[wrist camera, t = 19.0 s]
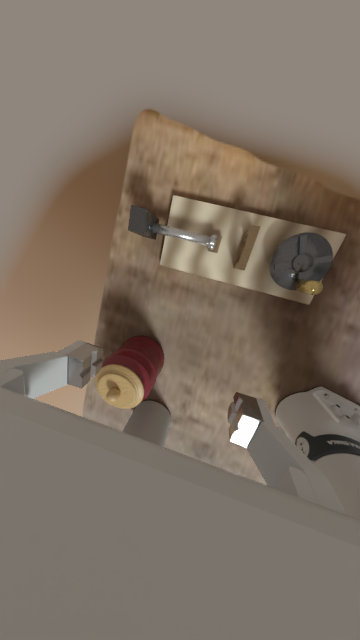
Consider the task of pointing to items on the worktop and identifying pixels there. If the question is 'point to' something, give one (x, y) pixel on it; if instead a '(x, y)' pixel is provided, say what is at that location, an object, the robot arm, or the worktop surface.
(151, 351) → the canister
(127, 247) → the worktop surface
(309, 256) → the handwheel
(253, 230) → the eye post
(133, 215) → the hammer
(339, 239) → the board
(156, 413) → the cylinder vase
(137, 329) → the worktop surface
